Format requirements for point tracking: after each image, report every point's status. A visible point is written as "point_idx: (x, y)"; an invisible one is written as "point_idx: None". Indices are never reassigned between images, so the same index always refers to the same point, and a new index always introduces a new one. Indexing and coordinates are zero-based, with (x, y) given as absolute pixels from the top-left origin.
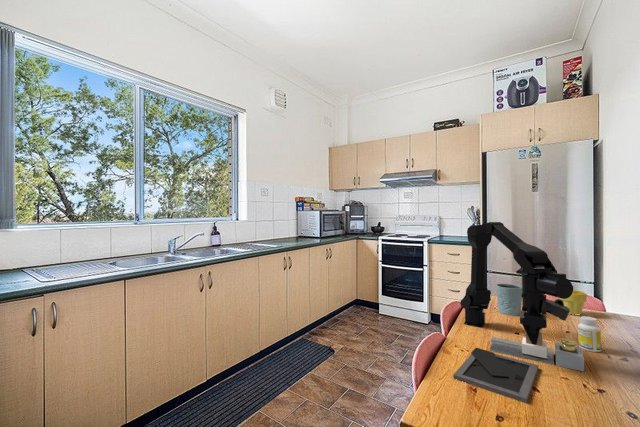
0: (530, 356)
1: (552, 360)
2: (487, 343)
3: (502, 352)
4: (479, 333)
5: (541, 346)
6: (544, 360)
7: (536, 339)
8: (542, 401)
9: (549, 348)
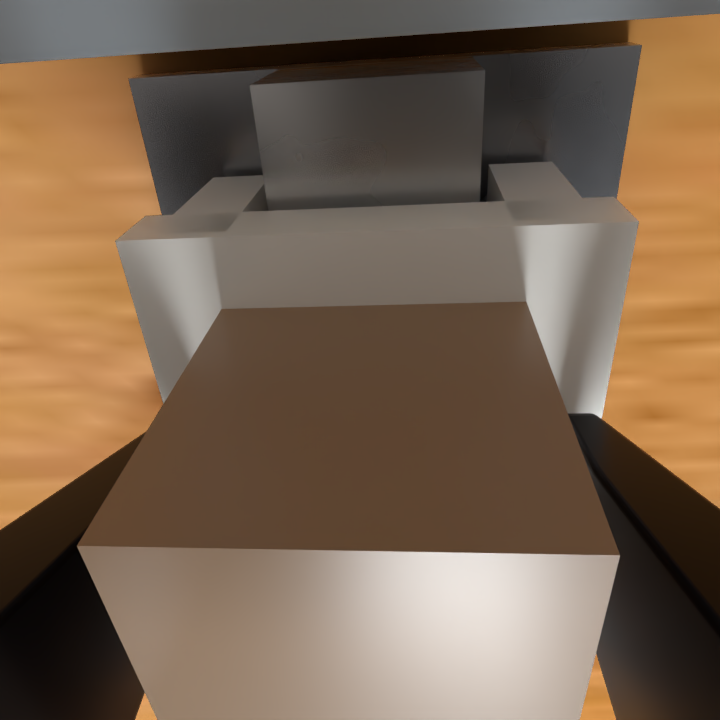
0: None
1: (540, 71)
2: None
3: None
4: (138, 715)
5: (537, 315)
6: (616, 189)
7: (692, 507)
8: None
9: (282, 154)
